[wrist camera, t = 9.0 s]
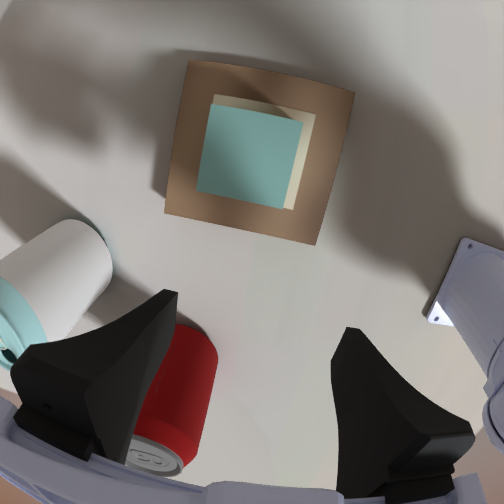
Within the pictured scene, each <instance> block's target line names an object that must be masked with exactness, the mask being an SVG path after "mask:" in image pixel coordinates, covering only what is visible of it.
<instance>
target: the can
mask: <svg viewBox="0 0 504 504" xmlns="http://www.w3.org/2000/svg"><path fill="white" fill-rule="evenodd" d="M112 270H113V268H112V260H111V256H110V253H109V250H108V248H107V246H106V244H105V243H104V241H103V239H102V238H101V237H100V235H99V234H98V233H97V232H96V231H95V230H94V229H93V228H91V227H90V226H89V225H87V224H85V223H83V222H81V221H78V220H74V219H67V220H63V221H61V222H59V223H57V224H55V225H54V226H52V227H50V228H49V229H47V230H46V231H44V232H42V233H41V234H39V235H38V236H36V237H34V238H33V239H31V240H30V241H28V242H27V243H25V244H24V245H22V246H21V247H19V248H18V249H16V250H15V251H13V252H12V253H10V254H9V255H7V256H6V257H4V258H3V259H1V260H0V366H1V367H3V368H4V369H6V370H8V371H10V369H11V367H12V365H13V364H14V363H15V362H16V360H17V359H18V358H19V357H20V356H21V354H22V353H23V352H24V351H25V350H26V349H27V348H28V346H29V345H30V344H39V343H46V342H53V341H58V340H63V339H64V338H65V336H66V335H67V334H68V333H69V332H70V330H71V329H72V328H73V327H74V325H75V324H76V323H77V322H78V321H79V319H80V318H81V317H82V316H83V315H84V313H85V312H86V311H87V310H88V309H89V308H90V306H91V305H92V304H93V303H94V302H95V301H96V299H97V298H98V297H99V296H100V295H101V294H102V292H103V291H104V290H105V289H106V288H107V287H108V285H109V283H110V281H111V278H112Z"/></svg>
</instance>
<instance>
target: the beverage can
mask: <svg viewBox="0 0 504 504" xmlns="http://www.w3.org/2000/svg"><path fill="white" fill-rule="evenodd" d="M217 364H218V354H217V351H216V349H215V347H214V345H213V344H212V342H211V341H210V340H209V339H208V338H207V337H206V336H204V335H203V334H202V333H200V332H199V331H197V330H195V329H193V328H190V327H187V326H184V325H178V324H175V331H174V334H173V337H172V340H171V343H170V346H169V349H168V351H167V353H166V355H165V357H164V359H163V361H162V363H161V365H160V367H159V369H158V371H157V373H156V375H155V377H154V379H153V381H152V383H151V385H150V387H149V389H148V391H147V394H146V396H145V399H144V402H143V405H142V408H141V410H140V413H139V416H138V420H137V423H136V426H135V429H134V432H133V436H132V439H131V443H130V446H129V450H128V454H127V457H126V461H125V465H127V466H129V467H132V468H135V469H138V470H141V471H144V472H147V473H150V474H154V475H157V476H161V477H173V476H177V475H178V474H180V473H181V472H182V470H183V468H184V467H185V466H186V465H187V464H189V463H190V462H191V461H192V460H193V459H194V458H195V456H196V455H197V451H198V447H199V443H200V439H201V435H202V431H203V427H204V422H205V418H206V414H207V410H208V405H209V401H210V396H211V392H212V388H213V383H214V378H215V374H216V369H217Z"/></svg>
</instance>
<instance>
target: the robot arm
mask: <svg viewBox="0 0 504 504" xmlns="http://www.w3.org/2000/svg"><path fill="white" fill-rule="evenodd" d="M470 243H471V245H470V247H468V245H469V244H470ZM177 299H178V292H175V291H170V290H166V289H163V290H162V291H160V292H159V293H157V294H156V295H154V296H153V297H152V298H150V299H149V300H147V301H146V302H145V303H143V304H142V305H140V306H139V307H137V308H135V309H134V310H132V311H131V312H129V313H128V314H126V315H124V316H122V317H121V318H119V319H117V320H115V321H113V322H111V323H109V324H107V325H105V326H103V327H100V328H98V329H96V330H93V331H90V332H87V333H84V334H81V335H78V336H75V337H71V338H67V339H63V340H58V341H53V342H46V343H39V344H30V345H29V346H28V348H27V349H26V350H25V351H24V352H23V353H22V354H21V356H20V357H19V358H18V359H17V360H16V362H15V363H14V364H13V365H12V367H11V369H10V375H11V379H12V382H13V384H14V386H15V388H16V391H17V393H18V395H19V397H20V399H21V401H22V403H23V404H22V405H21V406H20V408H19V409H18V408H17V407H16V406H15V405H14V404H13V403H11V402H10V401H8V400H7V399H5V398H4V397H2V396H0V476H2V477H3V478H5V479H6V480H7V481H9V482H10V483H12V484H13V485H15V486H16V487H18V488H19V489H21V490H22V491H24V492H25V493H27V494H28V495H30V496H32V497H33V498H35V499H37V500H38V501H40V502H42V503H43V504H487V502H486V499H485V496H484V492H483V489H482V486H481V483H480V480H479V477H478V474H477V473H471V474H467V475H463V476H460V477H457V478H455V479H453V480H452V477H451V474H452V473H454V471H455V469H454V466H453V464H454V463H455V462H456V461H457V460H459V458H461V457H462V456H463V455H464V454H465V453H466V452H467V451H468V450H469V449H470V448H471V447H472V445H473V443H474V442H475V435H474V433H473V430H472V428H471V425H470V423H469V422H468V421H466V420H464V419H462V418H460V417H458V416H456V415H454V414H452V413H450V412H448V411H446V410H445V409H443V408H441V407H440V406H438V405H436V404H435V403H433V402H432V401H431V400H429V399H428V398H426V397H425V396H424V395H422V394H421V393H420V392H419V391H417V390H416V389H415V388H414V387H413V386H411V385H410V384H409V383H408V382H407V381H406V380H405V379H404V378H403V377H402V376H401V375H400V374H399V373H398V372H397V371H396V370H395V369H394V368H393V367H392V366H391V365H390V364H389V363H388V361H387V360H386V359H385V358H384V357H383V356H382V354H381V353H380V352H379V351H378V350H377V349H376V347H375V346H374V345H373V344H372V342H371V341H370V340H369V339H368V338H367V337H366V335H365V334H364V333H363V332H362V331H361V330H360V329H357V328H351V327H346V330H345V332H344V334H343V336H342V338H341V341H340V343H339V345H338V347H337V349H336V351H335V353H334V355H333V357H332V359H331V384H332V390H333V397H334V403H335V409H336V415H337V422H338V437H339V454H338V475H337V486H336V491H335V490H330V489H322V488H296V487H282V486H271V485H262V484H253V483H246V482H233V481H222V482H215V483H211V484H209V485H208V486H206V487H202V486H197V485H193V484H188V483H184V482H180V481H175V480H172V479H168V478H164V477H161V476H157V475H154V474H150V473H147V472H144V471H141V470H138V469H135V468H132V467H129V466H126V465H125V461H126V457H127V454H128V450H129V446H130V443H131V439H132V436H133V432H134V429H135V426H136V423H137V420H138V416H139V413H140V410H141V408H142V405H143V402H144V399H145V396H146V394H147V391H148V389H149V387H150V385H151V383H152V381H153V379H154V377H155V375H156V373H157V371H158V369H159V367H160V365H161V363H162V361H163V359H164V357H165V355H166V353H167V351H168V349H169V346H170V343H171V340H172V337H173V334H174V331H175V322H176V310H177ZM435 317H437V318H435ZM434 318H435V319H434ZM426 319H427V321H428V322H429V323H435V324H442V325H448V326H455V328H456V329H457V330H458V332H459V333H460V335H461V336H462V338H463V340H464V341H465V343H466V344H467V346H468V347H469V349H470V350H471V352H472V354H473V355H474V357H475V358H476V360H477V362H478V363H479V365H480V366H481V368H482V370H483V371H484V373H485V375H486V376H487V378H488V380H487V382H486V384H485V385H484V387H483V389H484V391H485V393H486V394H487V396H488V398H489V399H488V400H487V401H486V403H485V405H484V407H483V412H482V417H483V424H484V428H485V431H486V434H487V436H488V438H489V440H490V442H491V443H492V444H493V446H494V447H495V448H496V449H497V450H498V451H499V452H501V453H502V454H504V251H502V250H499V249H496V248H494V247H491V246H488V245H485V244H483V243H480V242H477V241H474V240H472V239H469V238H463V239H462V240H461V241H460V243H459V246H458V248H457V251H456V253H455V256H454V258H453V261H452V263H451V265H450V268H449V270H448V272H447V274H446V277H445V279H444V281H443V283H442V285H441V287H440V290H439V292H438V294H437V296H436V298H435V300H434V302H433V304H432V306H431V308H430V310H429V312H428V314H427V316H426Z"/></svg>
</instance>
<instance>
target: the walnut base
mask: <svg viewBox="0 0 504 504" xmlns="http://www.w3.org/2000/svg"><path fill="white" fill-rule="evenodd" d="M354 96H355V92H351V91H348V90H345V89H342V88H338V87H335V86H331V85H328V84H324V83H320V82H316V81H312V80H308V79H304V78H300V77H296V76H292V75H287V74H282V73H278V72H273V71H268V70H262V69H257V68H251V67H245V66H239V65H232V64H225V63H217V62H209V61H199V60H189V62H188V67H187V71H186V76H185V81H184V86H183V91H182V96H181V101H180V106H179V112H178V118H177V123H176V129H175V135H174V142H173V148H172V155H171V162H170V169H169V176H168V184H167V192H166V200H165V209H164V213H165V214H170V215H175V216H180V217H185V218H190V219H194V220H199V221H204V222H209V223H214V224H218V225H223V226H228V227H232V228H237V229H242V230H246V231H251V232H256V233H260V234H265V235H269V236H274V237H278V238H283V239H287V240H292V241H296V242H301V243H305V244H310V245H314V246H315V245H316V241H317V238H318V235H319V231H320V228H321V224H322V221H323V217H324V214H325V210H326V207H327V203H328V200H329V196H330V192H331V189H332V185H333V181H334V178H335V174H336V170H337V166H338V162H339V159H340V155H341V151H342V147H343V143H344V139H345V135H346V131H347V126H348V122H349V118H350V114H351V109H352V105H353V101H354ZM211 104H215V105H222V106H228V107H234V108H239V109H245V110H250V111H255V112H260V113H265V114H270V115H274V116H279V117H283V118H288V119H292V120H296V121H300V122H304V123H303V127H302V131H301V135H300V140H299V144H298V148H297V152H296V156H295V161H294V165H293V169H292V173H291V177H290V181H289V185H288V189H287V194H286V198H285V202H284V206H283V209H279V208H274V207H270V206H265V205H261V204H256V203H252V202H247V201H243V200H238V199H233V198H228V197H224V196H219V195H214V194H209V193H204V192H199V191H196V186H197V180H198V174H199V168H200V162H201V156H202V150H203V145H204V139H205V134H206V129H207V123H208V118H209V113H210V108H211Z"/></svg>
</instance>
